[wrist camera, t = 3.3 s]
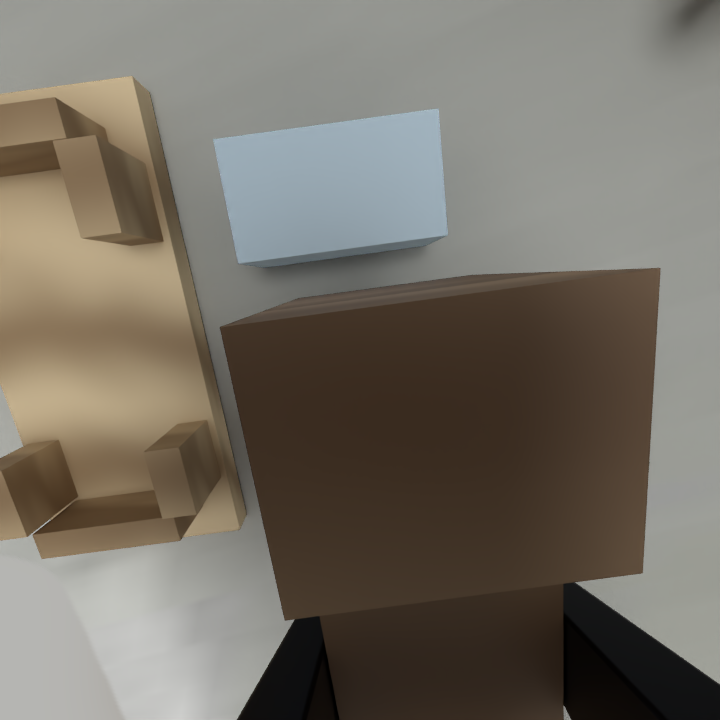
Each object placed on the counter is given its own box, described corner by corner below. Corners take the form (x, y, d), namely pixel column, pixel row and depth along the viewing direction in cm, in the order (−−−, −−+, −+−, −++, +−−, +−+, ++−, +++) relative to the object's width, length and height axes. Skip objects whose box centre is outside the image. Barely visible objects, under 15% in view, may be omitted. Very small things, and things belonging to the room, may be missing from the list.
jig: (246, 514, 19) (219, 574, 15) (80, 536, 19) (11, 602, 15) (149, 92, 15) (76, 23, 11) (-66, 121, 15) (-218, 64, 11)
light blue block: (424, 246, 16) (448, 235, 13) (264, 267, 16) (238, 263, 13) (416, 151, 16) (438, 108, 12) (247, 174, 16) (213, 139, 12)
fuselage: (497, 702, 11) (614, 1042, 6) (369, 719, 11) (384, 1071, 6) (472, 275, 8) (659, 267, 3) (298, 298, 8) (220, 327, 3)
